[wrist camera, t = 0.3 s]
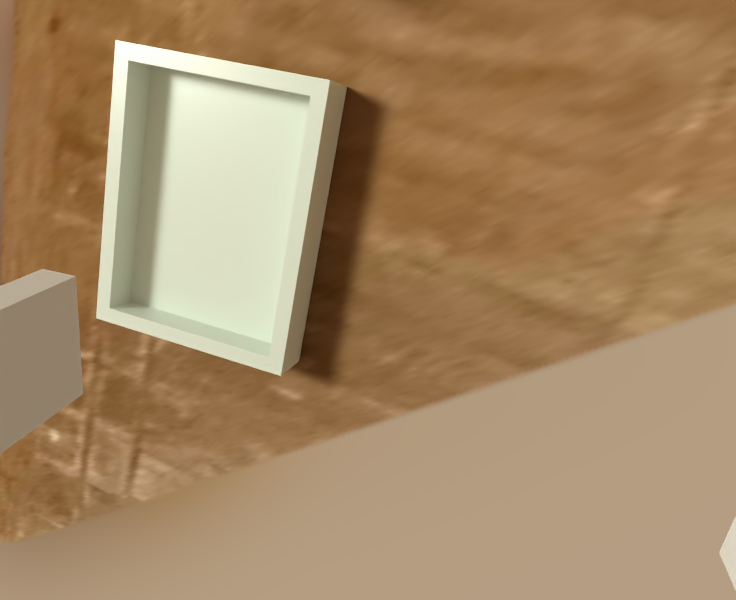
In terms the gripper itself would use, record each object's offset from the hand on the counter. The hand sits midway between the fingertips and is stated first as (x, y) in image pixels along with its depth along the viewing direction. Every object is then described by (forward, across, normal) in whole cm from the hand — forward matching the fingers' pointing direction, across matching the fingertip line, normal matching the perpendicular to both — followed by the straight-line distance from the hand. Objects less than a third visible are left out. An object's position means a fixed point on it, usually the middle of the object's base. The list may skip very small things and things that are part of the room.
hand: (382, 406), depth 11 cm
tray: (+26, -16, -4) cm, 31 cm away
